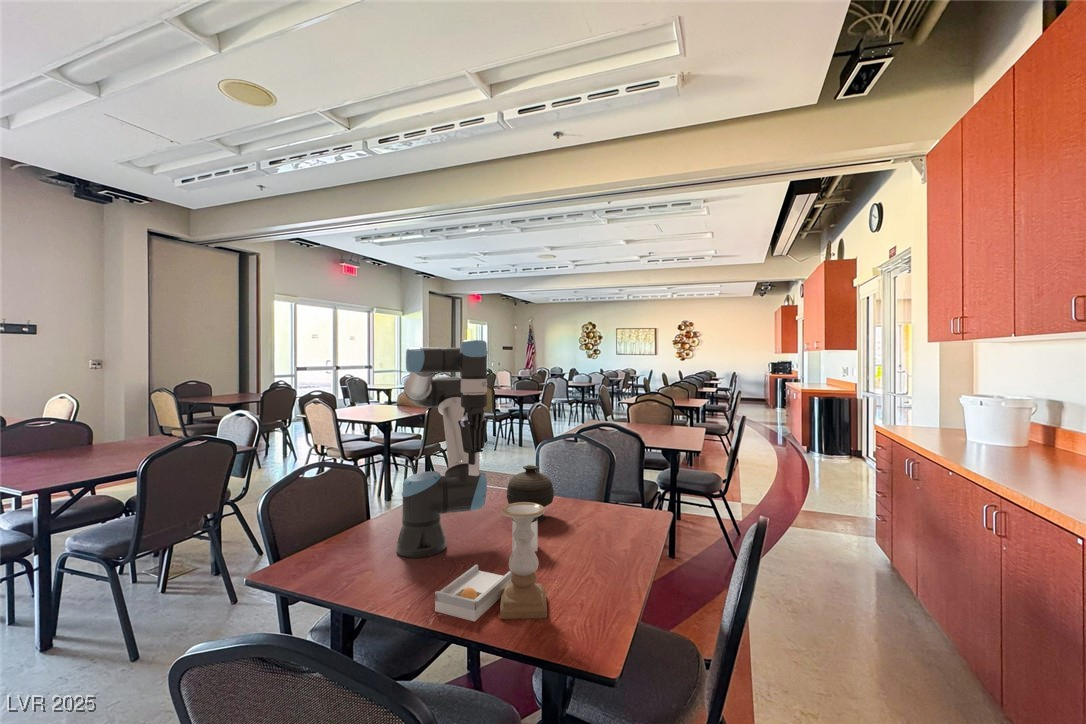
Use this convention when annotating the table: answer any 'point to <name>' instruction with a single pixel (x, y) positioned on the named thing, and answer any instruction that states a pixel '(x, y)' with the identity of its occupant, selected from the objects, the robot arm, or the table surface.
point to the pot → (530, 488)
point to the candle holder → (523, 568)
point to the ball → (469, 593)
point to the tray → (486, 590)
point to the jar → (534, 540)
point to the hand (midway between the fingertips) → (474, 474)
